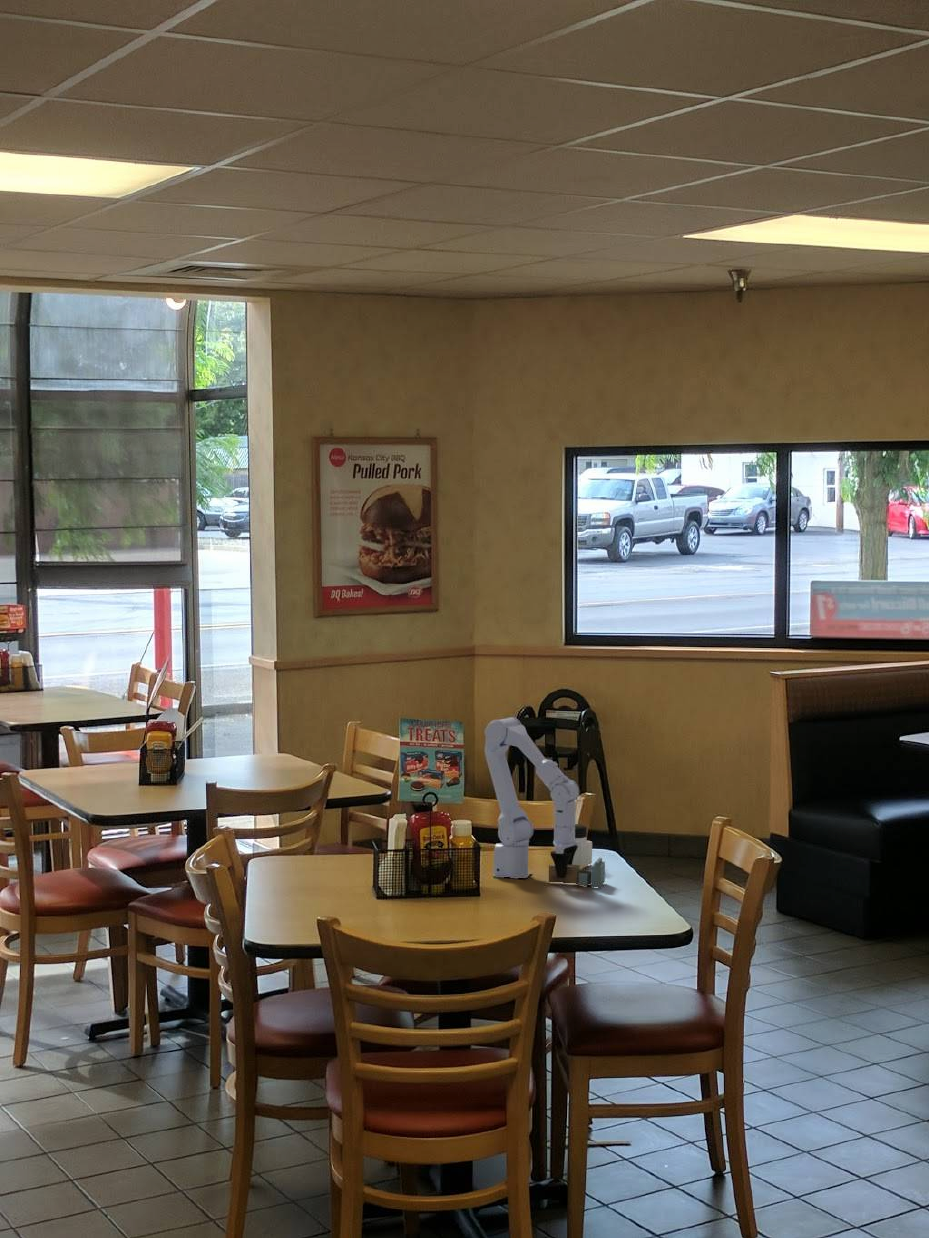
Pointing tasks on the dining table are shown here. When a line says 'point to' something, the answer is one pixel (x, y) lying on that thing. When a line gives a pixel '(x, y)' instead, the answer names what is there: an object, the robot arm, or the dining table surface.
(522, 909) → the dining table surface
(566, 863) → the robot arm
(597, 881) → the grey boxy pieces
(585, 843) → the medicine bottle
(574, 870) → the rail
